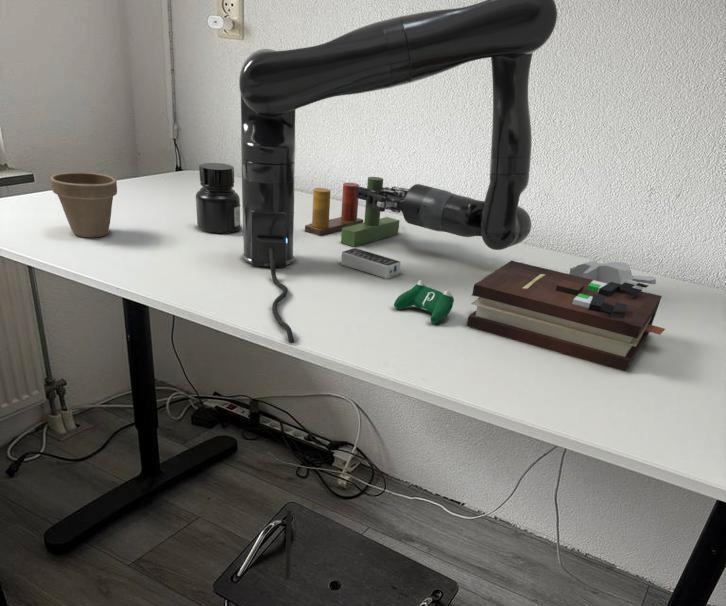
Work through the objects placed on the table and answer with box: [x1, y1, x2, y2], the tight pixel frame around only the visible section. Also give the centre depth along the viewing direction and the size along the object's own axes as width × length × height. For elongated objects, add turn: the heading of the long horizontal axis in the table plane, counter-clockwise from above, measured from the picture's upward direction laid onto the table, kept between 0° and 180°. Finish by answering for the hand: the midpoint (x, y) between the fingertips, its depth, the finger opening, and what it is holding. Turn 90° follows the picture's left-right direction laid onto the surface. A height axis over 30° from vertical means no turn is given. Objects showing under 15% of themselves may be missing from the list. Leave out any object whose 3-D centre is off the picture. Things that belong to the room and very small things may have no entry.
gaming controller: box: [393, 279, 455, 325], centre depth 107 cm, size 9×4×6 cm
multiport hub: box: [340, 247, 401, 279], centre depth 124 cm, size 4×11×2 cm, turn 53°
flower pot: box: [50, 172, 118, 238], centre depth 126 cm, size 12×11×10 cm
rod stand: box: [304, 182, 364, 237], centre depth 144 cm, size 15×4×8 cm, turn 143°
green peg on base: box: [340, 176, 400, 248], centre depth 139 cm, size 16×4×12 cm, turn 143°
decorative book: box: [466, 260, 666, 372], centre depth 105 cm, size 19×8×30 cm
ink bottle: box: [195, 162, 242, 234], centre depth 136 cm, size 10×9×12 cm
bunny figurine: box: [569, 260, 657, 291], centre depth 125 cm, size 10×5×15 cm
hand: (363, 191), depth 138 cm, fingers closed on green peg on base, 3 cm apart
